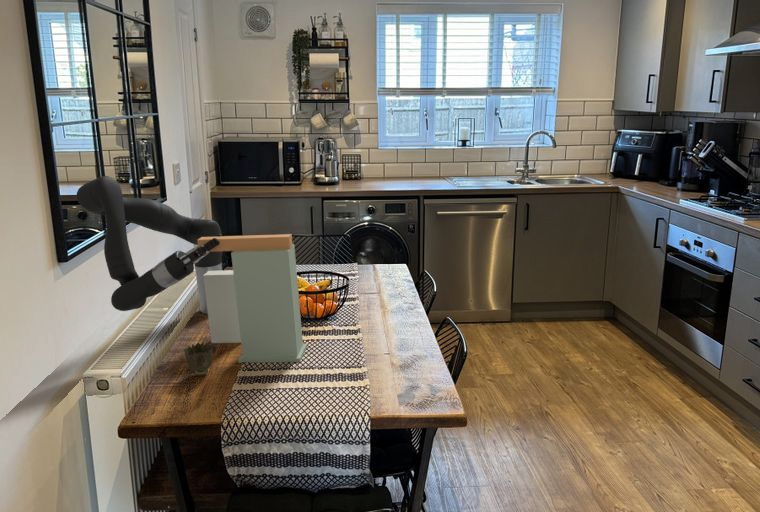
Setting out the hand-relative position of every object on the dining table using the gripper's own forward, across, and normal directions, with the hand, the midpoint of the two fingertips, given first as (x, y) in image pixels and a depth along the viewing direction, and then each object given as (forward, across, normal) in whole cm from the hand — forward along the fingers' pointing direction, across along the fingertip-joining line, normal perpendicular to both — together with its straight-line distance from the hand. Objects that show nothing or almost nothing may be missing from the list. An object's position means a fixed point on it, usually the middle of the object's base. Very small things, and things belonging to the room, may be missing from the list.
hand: (219, 238), depth 173 cm
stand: (-7, 0, +36) cm, 37 cm away
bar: (+5, 0, +6) cm, 8 cm away
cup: (-22, -13, +28) cm, 38 cm away
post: (-22, +12, +28) cm, 37 cm away
